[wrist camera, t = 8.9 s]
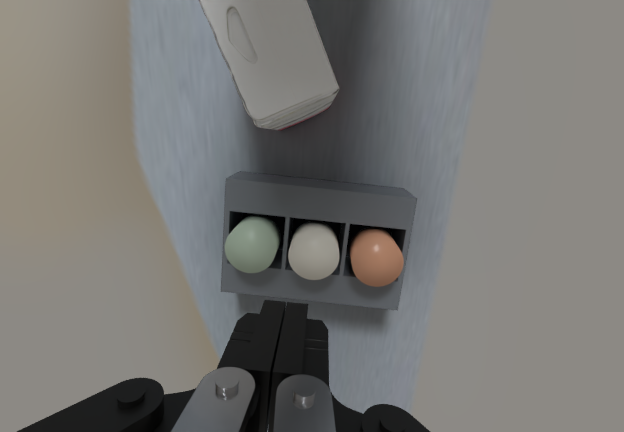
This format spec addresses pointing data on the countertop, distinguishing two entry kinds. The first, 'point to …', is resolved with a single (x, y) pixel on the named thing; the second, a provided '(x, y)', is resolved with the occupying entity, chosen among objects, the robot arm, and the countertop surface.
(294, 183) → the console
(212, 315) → the countertop surface
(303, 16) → the ink box
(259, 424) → the robot arm
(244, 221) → the sage button
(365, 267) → the terracotta button
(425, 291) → the countertop surface
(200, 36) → the countertop surface
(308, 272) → the cream button
